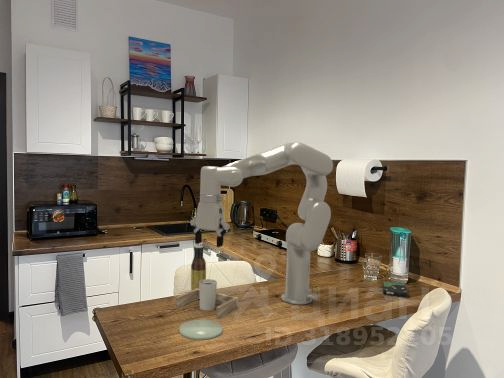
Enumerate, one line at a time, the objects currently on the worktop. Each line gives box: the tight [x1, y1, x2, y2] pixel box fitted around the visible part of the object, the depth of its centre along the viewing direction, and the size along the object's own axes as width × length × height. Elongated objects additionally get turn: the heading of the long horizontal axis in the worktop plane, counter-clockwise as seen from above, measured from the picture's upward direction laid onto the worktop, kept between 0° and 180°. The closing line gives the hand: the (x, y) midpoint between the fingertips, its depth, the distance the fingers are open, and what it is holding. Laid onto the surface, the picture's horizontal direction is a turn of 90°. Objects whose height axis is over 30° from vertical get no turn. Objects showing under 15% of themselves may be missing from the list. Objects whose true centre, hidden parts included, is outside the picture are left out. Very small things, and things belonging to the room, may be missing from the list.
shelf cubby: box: [174, 288, 239, 320], centre depth 152 cm, size 19×13×4 cm
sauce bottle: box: [190, 245, 207, 291], centre depth 168 cm, size 6×6×20 cm
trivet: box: [179, 319, 224, 341], centre depth 132 cm, size 14×14×1 cm
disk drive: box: [382, 281, 409, 299], centre depth 181 cm, size 10×3×15 cm
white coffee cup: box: [199, 278, 218, 311], centre depth 152 cm, size 7×7×10 cm
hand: (208, 244), depth 151 cm, fingers open, 9 cm apart
